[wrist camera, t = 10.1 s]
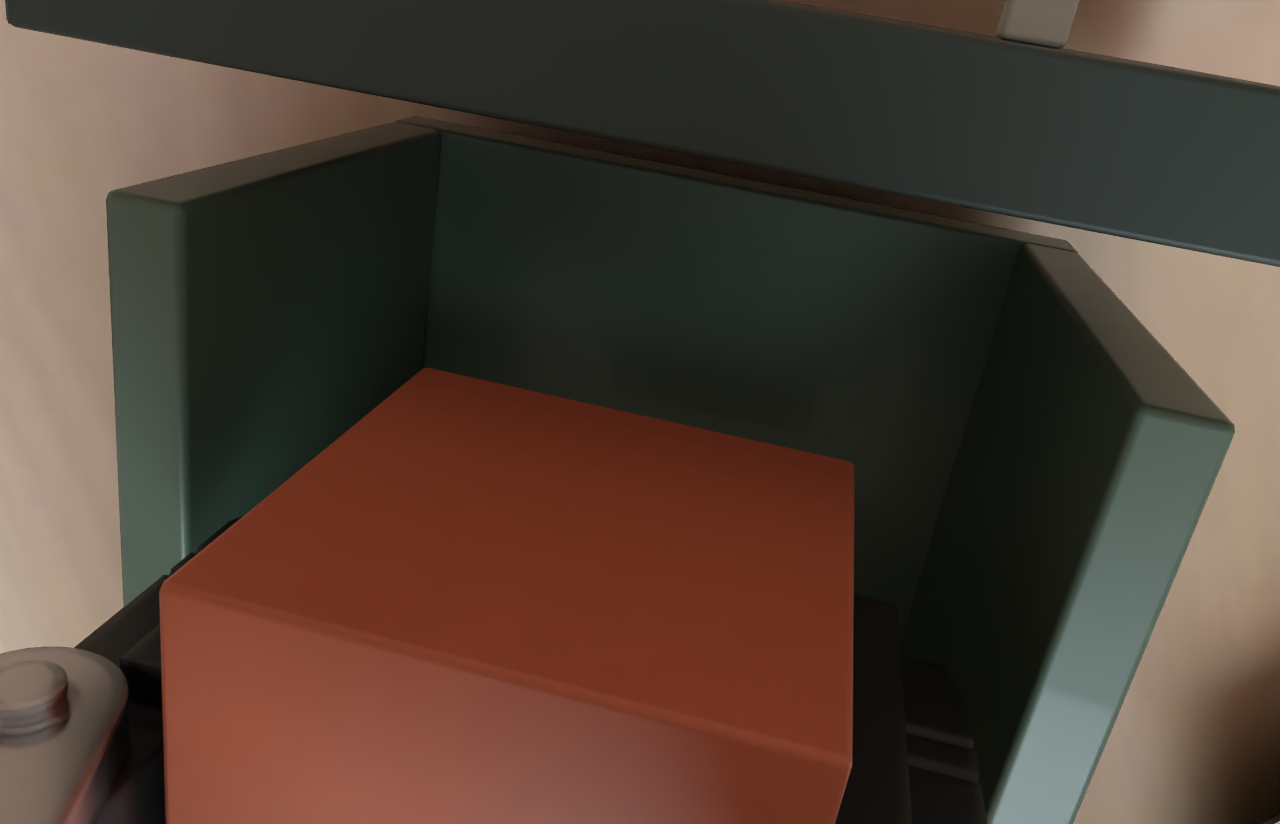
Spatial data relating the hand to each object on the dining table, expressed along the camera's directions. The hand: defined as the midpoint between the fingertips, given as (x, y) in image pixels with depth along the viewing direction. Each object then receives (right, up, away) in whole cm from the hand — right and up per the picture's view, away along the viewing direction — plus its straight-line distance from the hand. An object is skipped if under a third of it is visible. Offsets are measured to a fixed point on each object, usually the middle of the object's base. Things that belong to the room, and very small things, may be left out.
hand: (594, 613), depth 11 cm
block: (0, 0, 0) cm, 0 cm away
